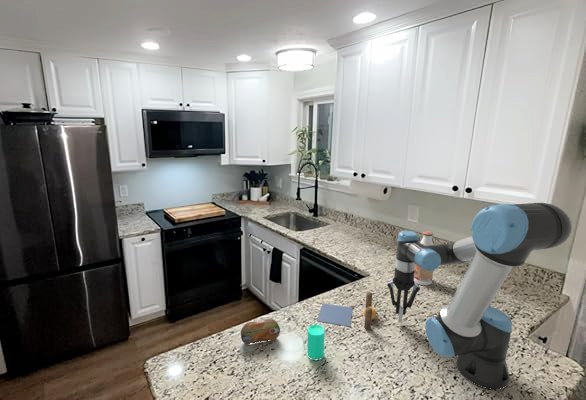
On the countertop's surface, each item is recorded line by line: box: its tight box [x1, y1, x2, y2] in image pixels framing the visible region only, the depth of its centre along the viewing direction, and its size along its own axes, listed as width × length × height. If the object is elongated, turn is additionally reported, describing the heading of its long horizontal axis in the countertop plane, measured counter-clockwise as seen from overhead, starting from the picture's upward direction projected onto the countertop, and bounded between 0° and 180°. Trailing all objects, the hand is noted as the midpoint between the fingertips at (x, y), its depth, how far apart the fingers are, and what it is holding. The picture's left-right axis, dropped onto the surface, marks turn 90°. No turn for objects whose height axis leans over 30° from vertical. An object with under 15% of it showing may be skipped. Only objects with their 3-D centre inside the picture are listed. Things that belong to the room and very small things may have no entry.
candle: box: [306, 324, 326, 359], centre depth 109 cm, size 6×6×12 cm
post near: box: [363, 307, 373, 331], centre depth 125 cm, size 3×3×9 cm
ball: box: [362, 306, 377, 321], centre depth 131 cm, size 6×6×6 cm
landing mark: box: [316, 303, 353, 327], centre depth 135 cm, size 14×14×1 cm
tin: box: [240, 318, 281, 346], centre depth 117 cm, size 15×3×8 cm, turn 105°
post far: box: [364, 291, 373, 309], centre depth 137 cm, size 3×3×9 cm
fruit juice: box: [414, 230, 435, 286], centre depth 162 cm, size 9×9×28 cm
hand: (399, 320), depth 128 cm, fingers closed
